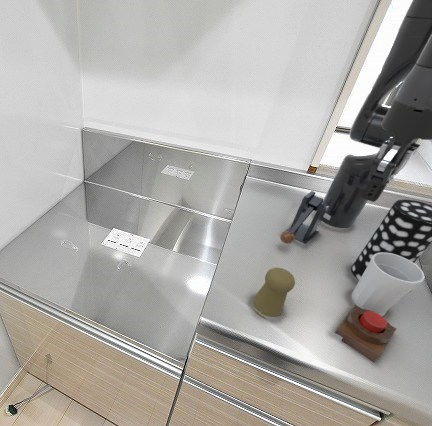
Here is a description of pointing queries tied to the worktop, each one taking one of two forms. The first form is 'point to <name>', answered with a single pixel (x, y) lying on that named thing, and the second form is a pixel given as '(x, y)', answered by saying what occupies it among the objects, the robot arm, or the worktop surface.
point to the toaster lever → (301, 220)
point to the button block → (364, 335)
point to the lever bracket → (308, 233)
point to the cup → (386, 282)
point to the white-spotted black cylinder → (399, 234)
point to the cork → (273, 292)
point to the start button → (373, 321)
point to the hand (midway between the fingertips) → (369, 198)
